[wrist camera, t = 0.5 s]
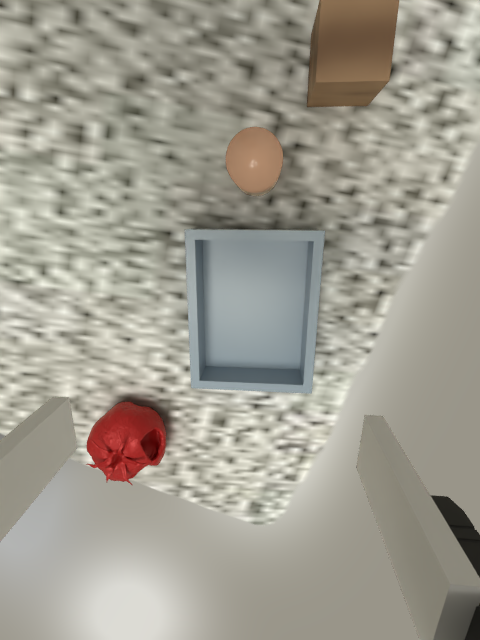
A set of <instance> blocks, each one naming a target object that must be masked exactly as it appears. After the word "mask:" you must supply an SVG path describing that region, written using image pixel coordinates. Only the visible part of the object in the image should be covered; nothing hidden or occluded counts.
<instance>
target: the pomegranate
mask: <svg viewBox="0 0 480 640" xmlns="http://www.w3.org/2000/svg"><path fill="white" fill-rule="evenodd" d="M165 448H166V430H165V426H164V423H163V420H162V419H161V417H160V416H159V414H158V413H157V412H156V411H154V410H153V409H152V408H150V407H147V406H145V407H143V406H137V405H136V404H134V403H132V402H121V403H118V404H117V405H115V406H114V407H113V408H112V409H111V410H109V411H108V412H107V413H106V414H105V415H104V416H103V417H101V418H100V419H99V420H98V421H97V422H96V423H95V424H94V426H93V428H92V430H91V432H90V435H89V437H88V440H87V451H88V452H89V454H90V455H91V456H92V460H93V461H94V462H95V464H96V465H92V464H86V465H90V466H91V467H93V468H96V467H98V468H99V469H100V470H102V471H103V472H104V474H105V475H106V476H107V477H106V480H107V481H108V479H110V480H113V481H123V482H124V481H127V482H129V480H128V479H130V478H133V477H135V475H136V474H137V473H138V472H139V471H140V470H142V469H143V468H144V467H146V466H148V465H154V466H155V465H158V464H159V463H160V461H161V459H162V458H163V456H164V453H165ZM129 483H130V482H129ZM130 484H131V483H130ZM131 485H132V484H131Z"/></svg>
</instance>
